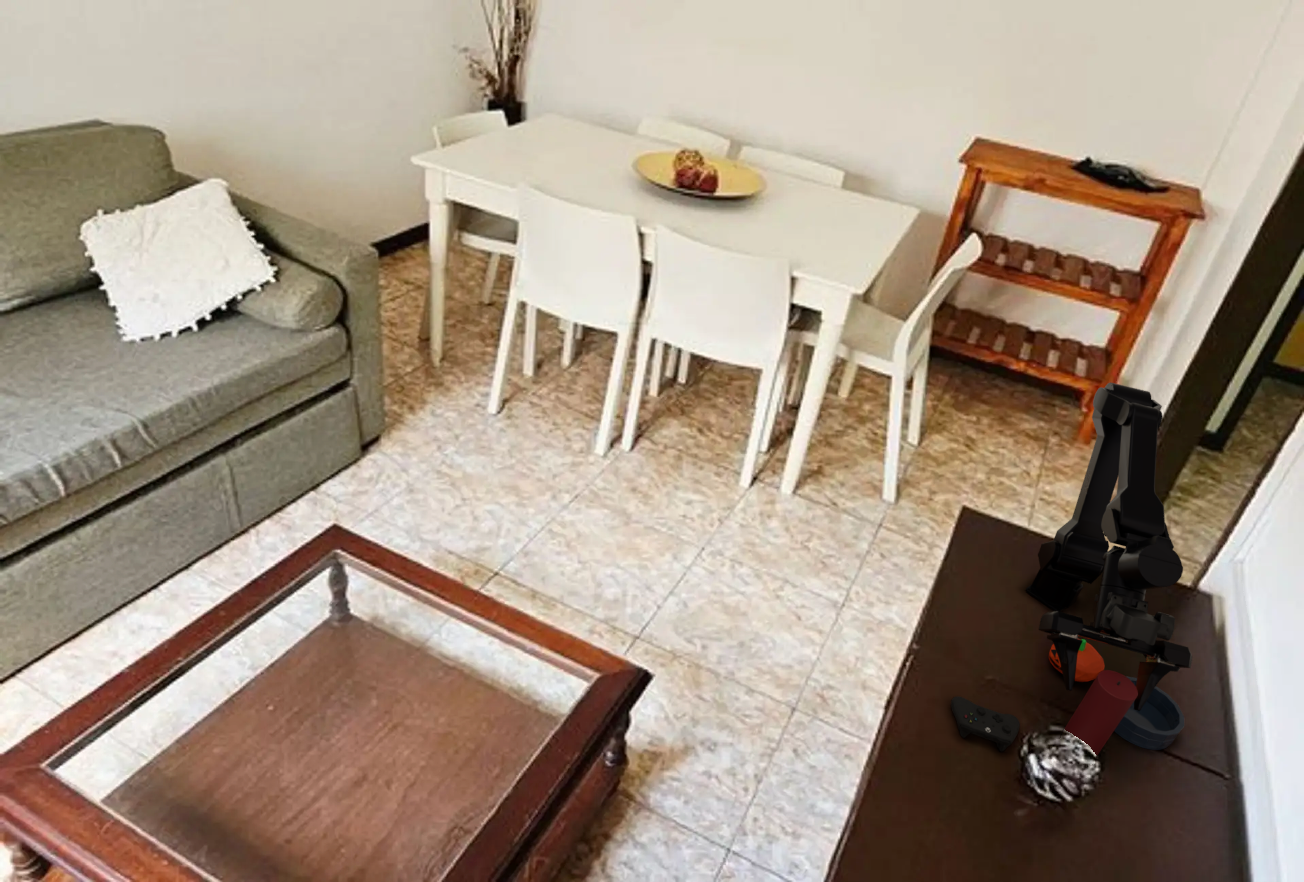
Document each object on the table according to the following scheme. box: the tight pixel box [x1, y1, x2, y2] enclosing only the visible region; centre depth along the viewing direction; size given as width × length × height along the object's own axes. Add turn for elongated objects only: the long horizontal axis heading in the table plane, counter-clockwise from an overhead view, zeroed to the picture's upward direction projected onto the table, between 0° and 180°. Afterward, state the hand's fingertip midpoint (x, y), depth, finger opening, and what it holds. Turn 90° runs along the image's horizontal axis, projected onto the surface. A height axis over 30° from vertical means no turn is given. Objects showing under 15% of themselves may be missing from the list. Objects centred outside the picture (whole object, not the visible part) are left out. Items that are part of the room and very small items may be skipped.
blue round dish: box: [1113, 675, 1185, 751], centre depth 130 cm, size 11×11×4 cm
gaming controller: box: [950, 695, 1021, 752], centre depth 124 cm, size 10×5×6 cm
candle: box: [1063, 669, 1138, 756], centre depth 121 cm, size 5×5×14 cm
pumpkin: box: [1048, 637, 1105, 683], centre depth 136 cm, size 7×8×6 cm
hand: (1102, 700), depth 121 cm, fingers open, 9 cm apart
